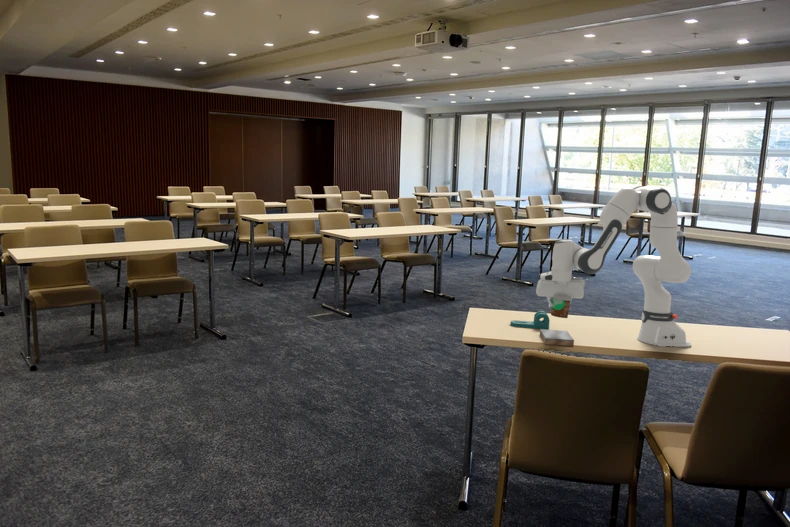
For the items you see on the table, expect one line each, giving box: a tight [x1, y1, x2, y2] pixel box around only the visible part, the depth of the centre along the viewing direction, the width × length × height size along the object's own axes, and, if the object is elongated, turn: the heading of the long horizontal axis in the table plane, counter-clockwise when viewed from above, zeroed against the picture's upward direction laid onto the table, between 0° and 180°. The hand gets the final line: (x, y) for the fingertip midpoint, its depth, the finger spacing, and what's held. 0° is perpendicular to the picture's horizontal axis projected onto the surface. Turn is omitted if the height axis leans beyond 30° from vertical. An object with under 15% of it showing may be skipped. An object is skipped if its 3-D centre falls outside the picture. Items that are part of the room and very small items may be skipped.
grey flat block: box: [539, 329, 575, 347], centre depth 270 cm, size 12×16×3 cm
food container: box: [550, 294, 572, 319], centre depth 268 cm, size 12×6×10 cm, turn 12°
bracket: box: [509, 310, 551, 330], centre depth 294 cm, size 18×7×8 cm, turn 81°
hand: (558, 307), depth 268 cm, fingers closed on food container, 5 cm apart
